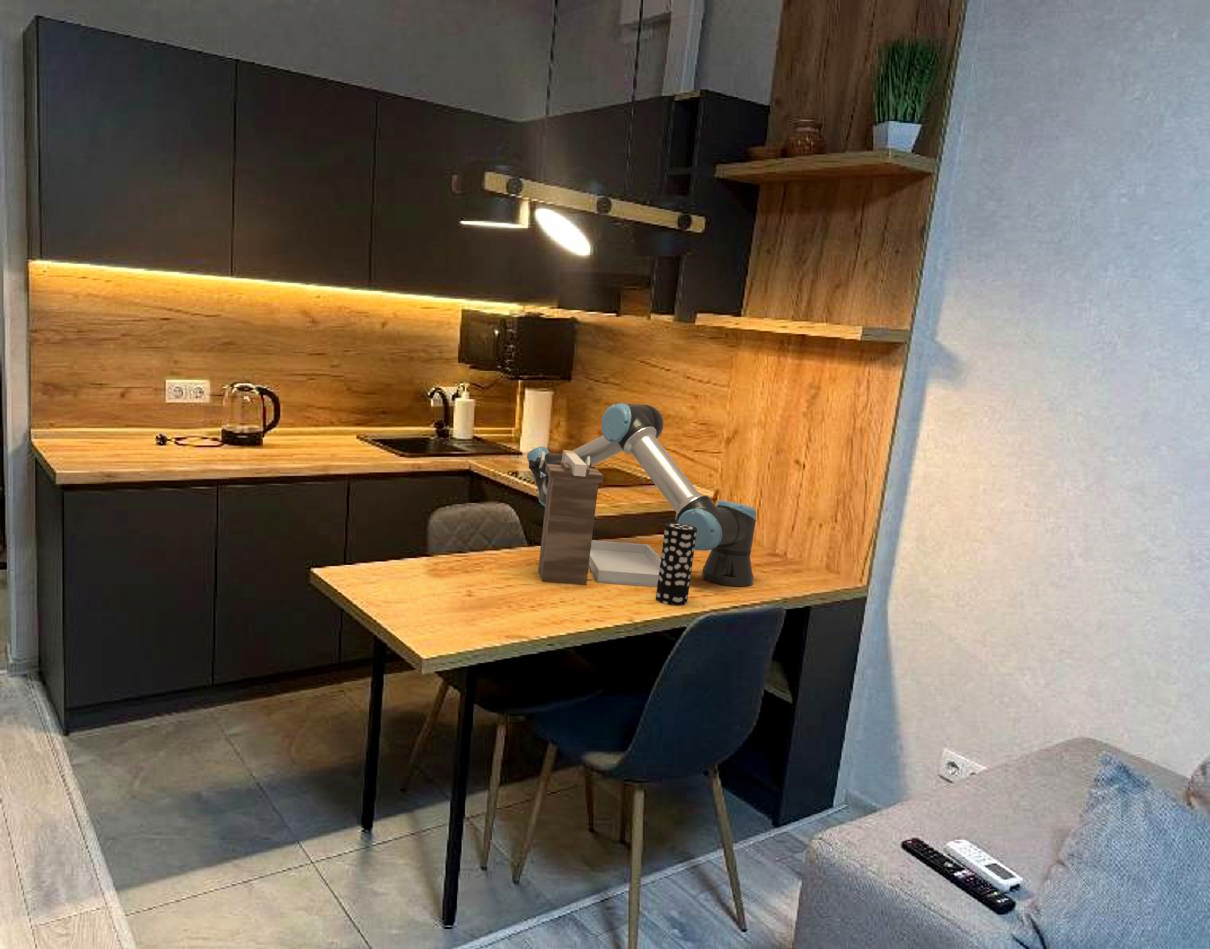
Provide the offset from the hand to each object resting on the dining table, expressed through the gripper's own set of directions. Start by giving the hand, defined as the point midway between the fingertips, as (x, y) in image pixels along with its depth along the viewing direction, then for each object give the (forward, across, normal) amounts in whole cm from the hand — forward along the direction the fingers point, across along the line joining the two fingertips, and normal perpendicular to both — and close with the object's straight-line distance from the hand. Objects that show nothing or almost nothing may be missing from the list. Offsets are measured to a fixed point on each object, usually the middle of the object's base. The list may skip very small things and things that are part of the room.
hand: (566, 458), depth 273 cm
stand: (+7, 0, -38) cm, 39 cm away
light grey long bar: (+20, +1, -11) cm, 22 cm away
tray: (-7, -20, -30) cm, 37 cm away
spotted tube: (+20, -27, -46) cm, 57 cm away
